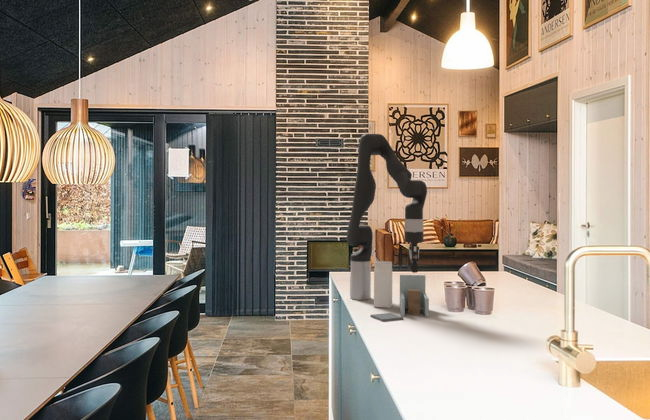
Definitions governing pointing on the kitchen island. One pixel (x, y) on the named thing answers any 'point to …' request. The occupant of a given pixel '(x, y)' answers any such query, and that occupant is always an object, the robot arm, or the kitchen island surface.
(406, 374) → the kitchen island surface
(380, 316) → the slate pad
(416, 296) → the walnut block
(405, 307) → the shelf bay
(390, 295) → the milk carton
